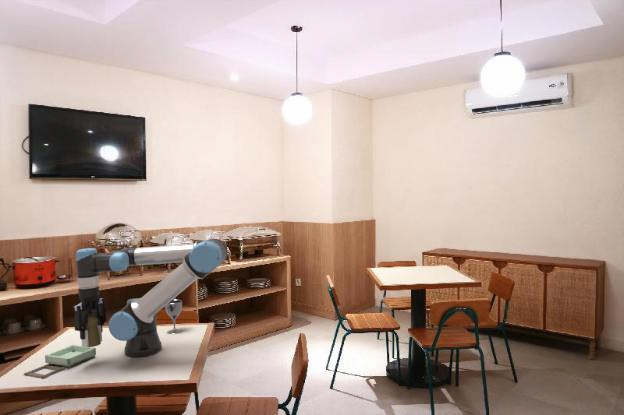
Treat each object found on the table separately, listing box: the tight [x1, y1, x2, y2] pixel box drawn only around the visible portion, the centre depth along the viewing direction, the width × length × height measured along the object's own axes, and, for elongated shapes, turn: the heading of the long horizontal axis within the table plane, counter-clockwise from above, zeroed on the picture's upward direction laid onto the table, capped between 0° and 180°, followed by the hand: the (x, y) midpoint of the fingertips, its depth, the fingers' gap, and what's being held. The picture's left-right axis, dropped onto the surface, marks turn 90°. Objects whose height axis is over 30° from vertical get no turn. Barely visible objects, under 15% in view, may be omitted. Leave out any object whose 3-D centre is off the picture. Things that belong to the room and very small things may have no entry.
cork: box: [86, 316, 102, 348], centre depth 176 cm, size 6×6×11 cm
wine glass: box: [164, 299, 183, 335], centre depth 217 cm, size 8×8×15 cm
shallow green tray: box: [44, 344, 97, 367], centre depth 180 cm, size 13×13×3 cm
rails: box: [23, 355, 96, 379], centre depth 176 cm, size 11×23×1 cm, turn 159°
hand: (92, 343), depth 177 cm, fingers closed on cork, 6 cm apart
